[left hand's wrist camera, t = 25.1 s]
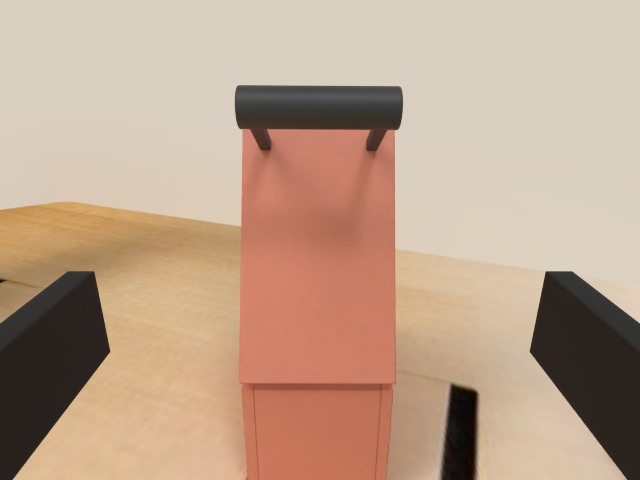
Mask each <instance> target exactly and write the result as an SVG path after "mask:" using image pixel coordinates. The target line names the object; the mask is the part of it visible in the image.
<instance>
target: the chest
mask: <svg viewBox="0 0 640 480" xmlns="http://www.w3.org/2000/svg"><path fill="white" fill-rule="evenodd" d="M392 400H393V387H392V384H259V383H243V386H242V402H243V416H244V430H245V444H246V458H247V472H248V480H386V474H387V462H388V449H389V437H390V425H391V412H392Z"/></svg>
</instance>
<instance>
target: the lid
mask: <svg viewBox="0 0 640 480" xmlns="http://www.w3.org/2000/svg"><path fill="white" fill-rule="evenodd" d="M402 111H403V94H402V89H401V87H399V86H262V85H239V86H237V88H236V92H235V113H236V121H237V124H238V127H239V128H240V129H243V153H242V225H241V296H240V368H239V382H240V383H259V384H395V383H396V347H395V135H394V134H395V130H398V129H399V127H400V124H401V119H402Z"/></svg>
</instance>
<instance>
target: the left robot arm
mask: <svg viewBox="0 0 640 480" xmlns="http://www.w3.org/2000/svg"><path fill="white" fill-rule="evenodd" d="M109 353H110V348H109V343H108V338H107V333H106V328H105V323H104V318H103V313H102V308H101V303H100V298H99V293H98V288H97V283H96V278H95V273H94V271H68V272H66V273H65V274H64V275H63V276H61V277H60V278H59V279H57V280H56V281H55V282H54V283H52V284H51V285H50V286H48V287H47V288H46V289H44V290H43V291H42V292H41V293H39V294H38V295H37V296H35V297H34V298H33V299H31V300H30V301H29V302H28V303H26V304H25V305H24V306H22V307H21V308H20V309H18V310H17V311H16V312H15V313H13V314H12V315H11V316H9V317H8V318H7V319H6V320H4V321H3V322H2V323H0V480H13V478H14V477H15V476H16V475H17V473H18V472H19V471H20V469H21V468H22V467H23V465H24V464H25V463H26V461H27V460H28V459H29V458H30V456H31V455H32V454H33V452H34V451H35V450H36V448H37V447H38V446H39V444H40V443H41V442H42V440H43V439H44V438H45V437H46V435H47V434H48V433H49V431H50V430H51V429H52V427H53V426H54V425H55V423H56V422H57V421H58V420H59V418H60V417H61V416H62V414H63V413H64V412H65V410H66V409H67V408H68V406H69V405H70V404H71V403H72V401H73V400H74V399H75V397H76V396H77V395H78V393H79V392H80V391H81V389H82V388H83V387H84V385H85V384H86V383H87V382H88V380H89V379H90V378H91V376H92V375H93V374H94V372H95V371H96V370H97V368H98V367H99V366H100V365H101V363H102V362H103V361H104V359H105V358H106V357H107V355H108V354H109ZM530 353H531V354H532V355H533V357H534V358H535V359H536V361H537V362H538V363H539V365H540V366H541V367H542V368H543V370H544V371H545V372H546V374H547V375H548V376H549V378H550V379H551V380H552V382H553V383H554V384H555V385H556V387H557V388H558V389H559V391H560V392H561V393H562V395H563V396H564V397H565V399H566V400H567V401H568V403H569V404H570V405H571V406H572V408H573V409H574V410H575V412H576V413H577V414H578V416H579V417H580V418H581V420H582V421H583V422H584V423H585V425H586V426H587V427H588V429H589V430H590V431H591V433H592V434H593V435H594V437H595V438H596V439H597V440H598V442H599V443H600V444H601V446H602V447H603V448H604V450H605V451H606V452H607V454H608V455H609V456H610V458H611V459H612V460H613V461H614V463H615V464H616V465H617V467H618V468H619V469H620V471H621V472H622V473H623V475H624V476H625V477H626V478H627V480H640V323H638V322H637V321H636V320H634V319H633V318H632V317H631V316H629V315H628V314H627V313H625V312H624V311H623V310H621V309H620V308H619V307H618V306H616V305H615V304H614V303H612V302H611V301H610V300H609V299H607V298H606V297H605V296H603V295H602V294H601V293H599V292H598V291H597V290H596V289H594V288H593V287H592V286H590V285H589V284H588V283H586V282H585V281H584V280H583V279H581V278H580V277H579V276H577V275H576V274H575V273H574V272H572V271H563V272H561V271H559V272H558V271H555V272H553V271H546V273H545V278H544V283H543V288H542V293H541V298H540V303H539V308H538V313H537V318H536V323H535V328H534V333H533V338H532V343H531V348H530Z"/></svg>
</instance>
